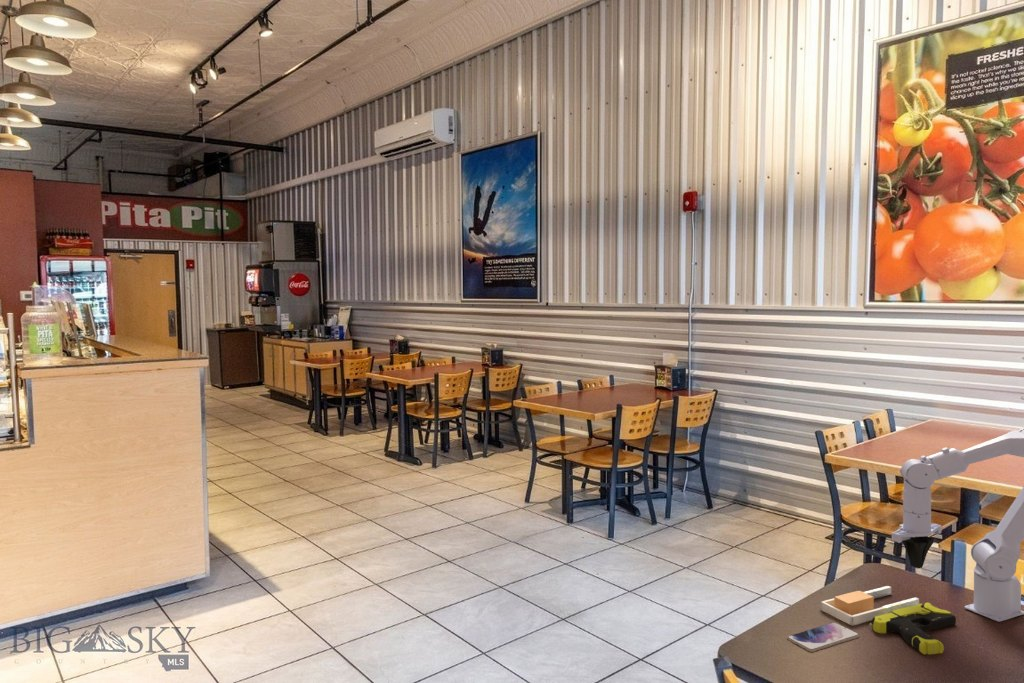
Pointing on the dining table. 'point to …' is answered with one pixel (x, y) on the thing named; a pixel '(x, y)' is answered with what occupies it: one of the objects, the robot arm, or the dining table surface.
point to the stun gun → (916, 625)
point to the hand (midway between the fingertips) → (916, 566)
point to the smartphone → (822, 637)
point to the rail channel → (898, 605)
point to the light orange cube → (864, 600)
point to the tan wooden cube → (848, 604)
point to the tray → (849, 619)
